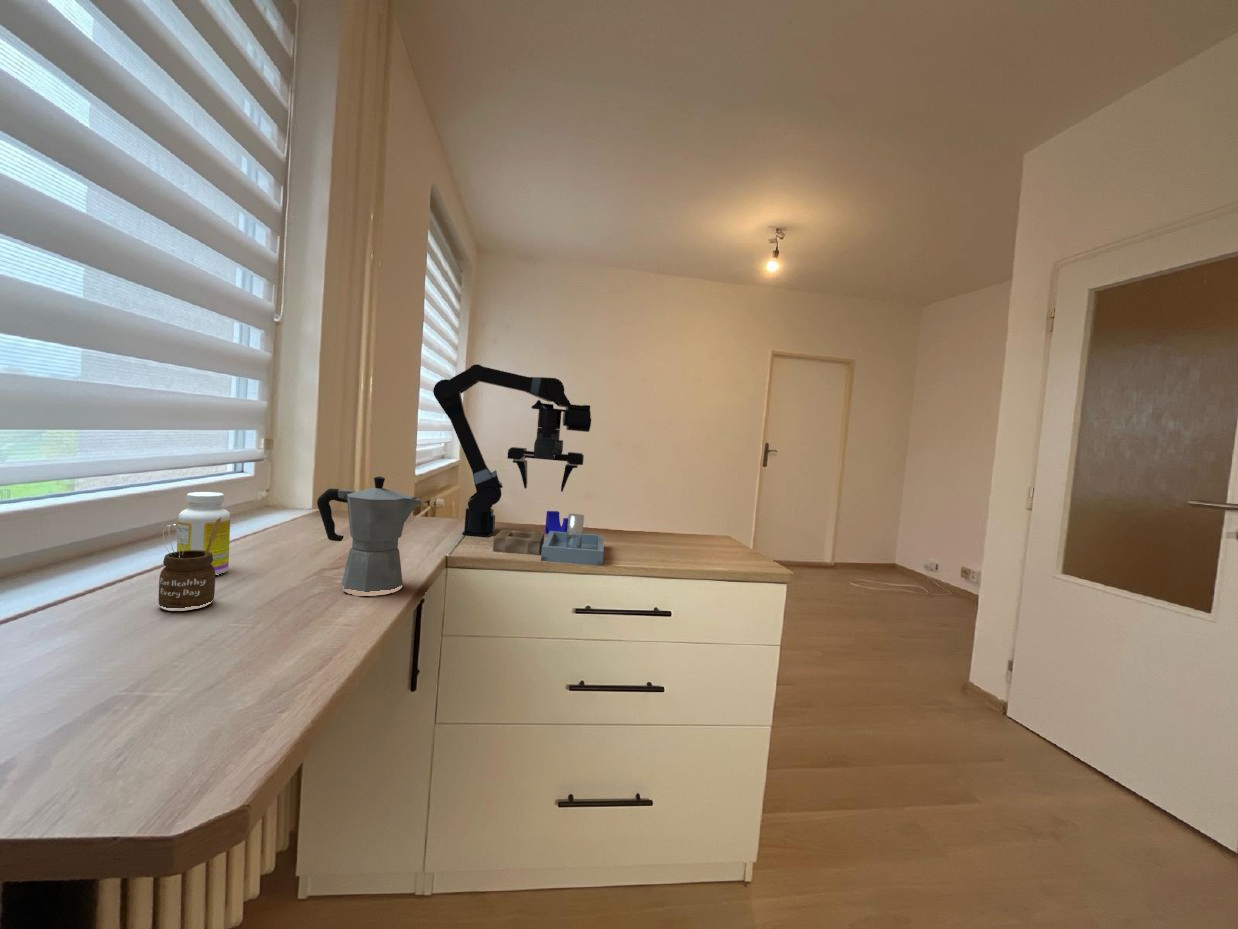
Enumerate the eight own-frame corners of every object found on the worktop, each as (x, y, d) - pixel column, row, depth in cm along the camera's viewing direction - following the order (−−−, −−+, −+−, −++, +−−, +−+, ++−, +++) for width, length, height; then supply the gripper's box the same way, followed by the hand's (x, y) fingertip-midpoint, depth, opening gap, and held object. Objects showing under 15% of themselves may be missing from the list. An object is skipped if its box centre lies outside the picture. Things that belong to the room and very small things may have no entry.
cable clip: (580, 542, 138) (582, 519, 138) (563, 543, 136) (565, 519, 135) (560, 533, 148) (562, 511, 148) (544, 533, 146) (546, 511, 146)
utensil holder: (168, 599, 75) (171, 512, 75) (222, 598, 78) (226, 514, 77) (149, 613, 70) (152, 520, 69) (208, 612, 72) (212, 521, 71)
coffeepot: (420, 581, 93) (428, 476, 92) (410, 599, 84) (418, 482, 83) (322, 578, 91) (329, 469, 89) (300, 596, 81) (307, 475, 80)
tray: (540, 560, 115) (541, 546, 115) (548, 543, 133) (549, 530, 133) (602, 565, 116) (603, 551, 116) (602, 547, 134) (603, 535, 134)
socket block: (492, 551, 120) (493, 537, 120) (501, 541, 130) (502, 529, 130) (538, 554, 120) (539, 541, 120) (543, 545, 130) (544, 532, 130)
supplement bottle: (234, 568, 92) (238, 492, 91) (219, 579, 85) (223, 497, 85) (186, 568, 90) (190, 490, 89) (167, 579, 83) (170, 495, 82)
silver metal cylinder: (565, 551, 123) (568, 515, 122) (566, 547, 126) (568, 513, 126) (580, 552, 123) (583, 517, 122) (581, 549, 126) (584, 514, 126)
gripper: (506, 424, 130) (500, 490, 131) (584, 432, 131) (579, 496, 132) (513, 425, 141) (508, 485, 142) (586, 431, 142) (580, 491, 143)
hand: (543, 489), depth 139 cm, fingers open, 9 cm apart
